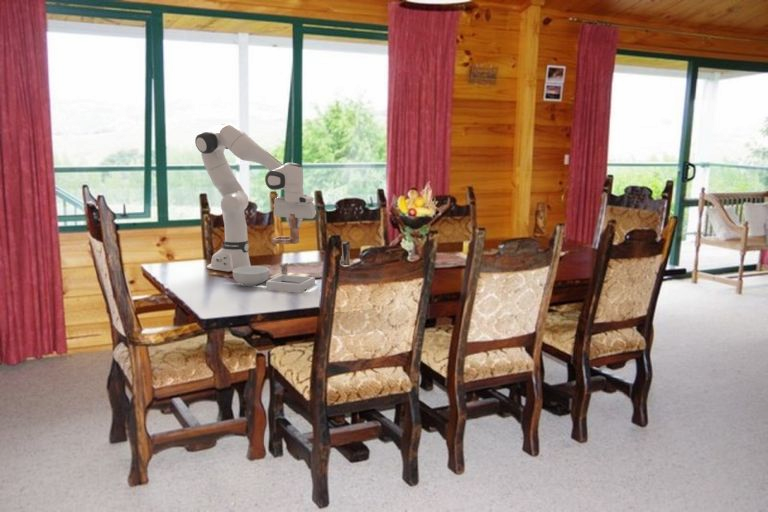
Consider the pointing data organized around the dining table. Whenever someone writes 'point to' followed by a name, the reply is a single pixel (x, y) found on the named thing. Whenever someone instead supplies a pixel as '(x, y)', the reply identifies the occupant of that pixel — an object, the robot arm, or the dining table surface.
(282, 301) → the dining table surface
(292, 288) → the grey tray
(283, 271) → the stake board
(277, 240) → the tabbed ring
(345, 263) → the coffee box
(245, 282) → the cereal bowl
